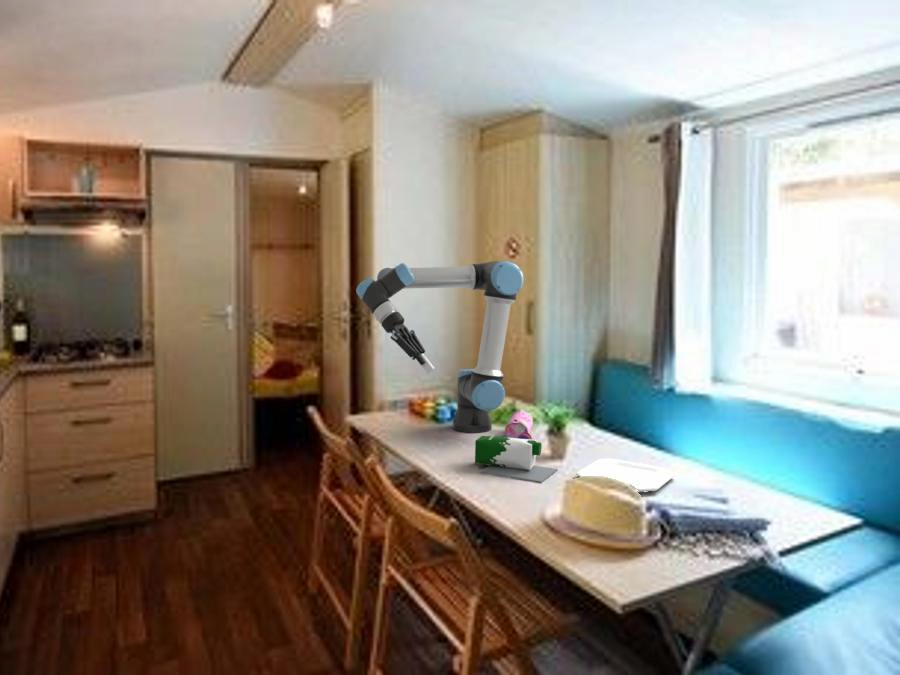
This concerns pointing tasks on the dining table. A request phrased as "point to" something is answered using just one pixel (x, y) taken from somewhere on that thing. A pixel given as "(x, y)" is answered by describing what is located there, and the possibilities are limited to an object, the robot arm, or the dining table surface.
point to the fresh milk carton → (507, 452)
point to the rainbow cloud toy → (525, 436)
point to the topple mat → (521, 473)
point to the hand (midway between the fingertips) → (431, 371)
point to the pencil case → (519, 423)
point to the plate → (629, 473)
